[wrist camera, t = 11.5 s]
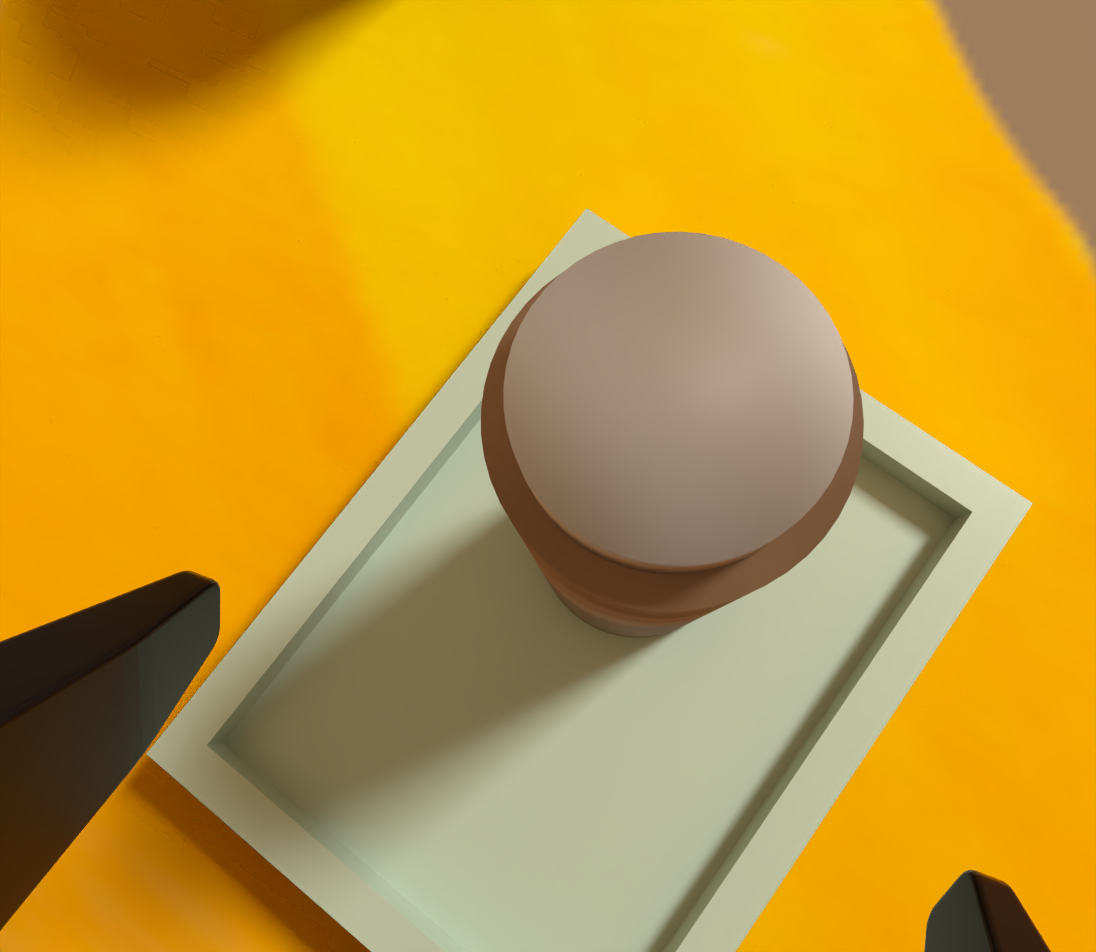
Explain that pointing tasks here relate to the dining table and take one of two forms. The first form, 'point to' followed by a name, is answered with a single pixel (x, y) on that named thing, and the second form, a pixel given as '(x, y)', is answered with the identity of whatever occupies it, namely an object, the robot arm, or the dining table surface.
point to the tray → (567, 701)
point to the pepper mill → (670, 428)
